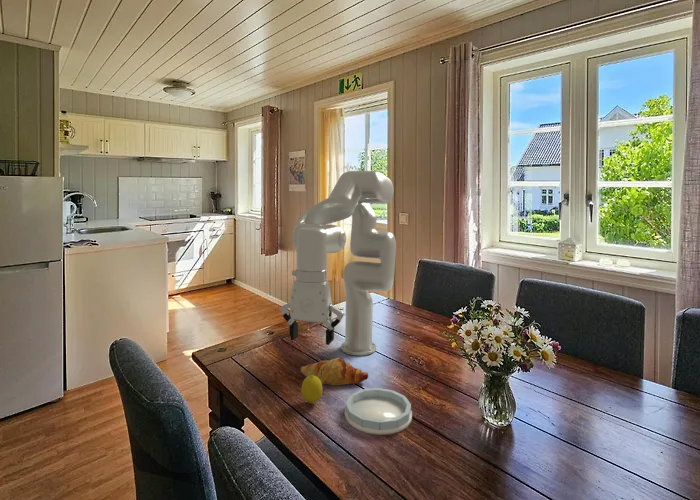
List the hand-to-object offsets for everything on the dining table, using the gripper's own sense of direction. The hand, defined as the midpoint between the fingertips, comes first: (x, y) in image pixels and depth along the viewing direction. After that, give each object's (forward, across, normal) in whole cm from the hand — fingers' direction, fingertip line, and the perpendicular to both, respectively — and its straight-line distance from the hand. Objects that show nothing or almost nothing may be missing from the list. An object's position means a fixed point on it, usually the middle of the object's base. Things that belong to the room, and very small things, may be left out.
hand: (311, 340), depth 106 cm
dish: (+18, +18, 0) cm, 25 cm away
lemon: (+18, 0, 0) cm, 18 cm away
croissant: (+18, +1, +16) cm, 24 cm away
